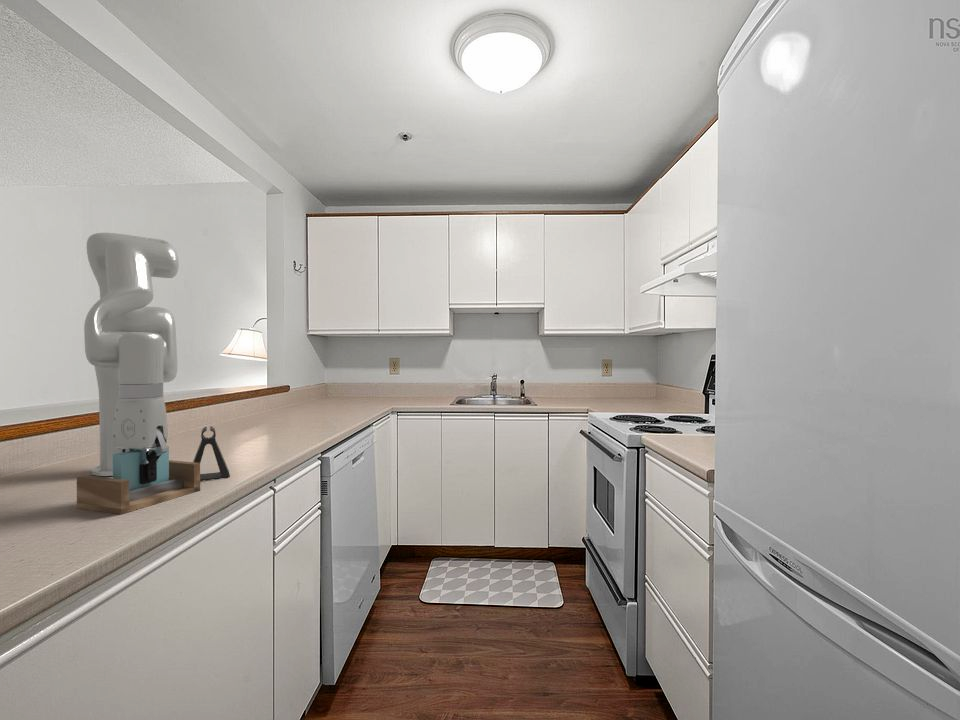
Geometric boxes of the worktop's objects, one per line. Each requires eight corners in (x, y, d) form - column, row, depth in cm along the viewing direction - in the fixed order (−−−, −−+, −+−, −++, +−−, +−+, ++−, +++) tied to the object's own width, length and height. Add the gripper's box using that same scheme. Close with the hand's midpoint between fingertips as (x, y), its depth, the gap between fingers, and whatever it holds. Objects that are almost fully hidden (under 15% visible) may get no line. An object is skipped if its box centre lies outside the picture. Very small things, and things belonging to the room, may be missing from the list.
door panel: (160, 486, 106) (160, 445, 106) (169, 488, 105) (168, 446, 105) (112, 499, 96) (112, 454, 96) (121, 501, 96) (121, 455, 95)
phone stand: (229, 472, 123) (229, 425, 123) (229, 477, 118) (229, 428, 118) (187, 476, 119) (187, 427, 119) (186, 482, 113) (186, 430, 113)
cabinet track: (159, 485, 110) (159, 459, 110) (200, 490, 107) (200, 462, 107) (76, 507, 94) (76, 476, 94) (121, 514, 91) (120, 482, 90)
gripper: (94, 392, 99) (95, 483, 100) (153, 395, 94) (153, 490, 94) (131, 390, 106) (131, 474, 107) (187, 392, 101) (188, 480, 102)
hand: (142, 481), depth 101 cm, fingers open, 2 cm apart
